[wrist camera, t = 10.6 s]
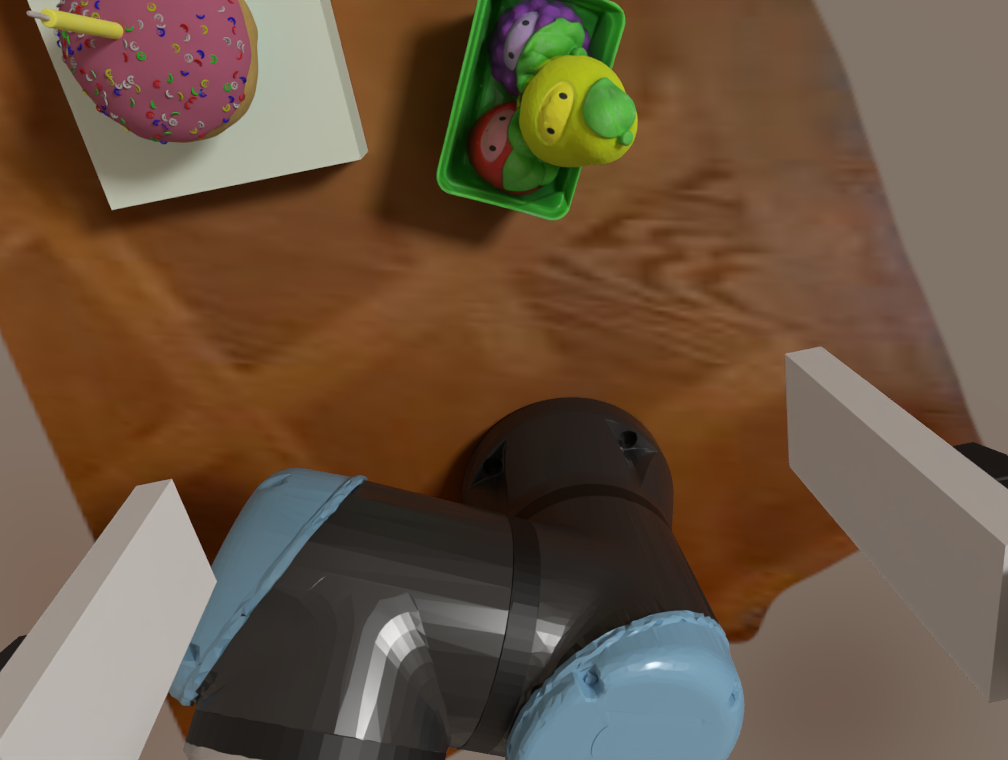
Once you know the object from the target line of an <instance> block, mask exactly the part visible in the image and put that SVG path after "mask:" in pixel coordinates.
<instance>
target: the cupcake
mask: <svg viewBox="0 0 1008 760" xmlns="http://www.w3.org/2000/svg"><path fill="white" fill-rule="evenodd" d="M56 7H57V8H59V10H53V9H48V8H46V9H43V10H42V11H41V12H40V13H38V12H33V11H27V15H28V16H30V17H33V18H37V19H40V20H41V22H42V24H43V25H44V26H46V27H48V28H53V33H54V35H56V36H58V37H59V40H58V41H57V45H58V47H60V48H61V49H62V53H63V55H62V57H61V59H62V61H63V62H64V63H65V64H66V65H67V67H68V69H69V70H70V72H71V73H72V75H73V76H74V78H75V79H76V81H77V82H78V83H79V85H80V86H81V87H82V89H83V90H82V92H83V93H84V94H85V95H87V96H89V97H90V99H91V100H92V101H93V102H94V103H95V104H96V109H97V111H98V112H100V113H103V114H104V115H106V116H108V117H109V118H111V119H112V120H113V121H115V122H117V123H119V124H120V125H122V126H123V127H124V129H125V130H126V131H127V132H130V131H131V132H132V133H134V134H136V135H137V136H139V137H141V138H144V139H148V140H152V141H154V142H157V141H158V142H160V143H161V144H167V142H175V143H188V142H195V141H200V140H205V139H209V138H212V137H215V136H217V135H219V134H221V133H222V132H224V131H225V130H226V129H228V128H229V127H230V126H232V125H233V124H235V123H236V122H237V121H238V120H240V119H241V118H242V117H243V116H244V115H245V113H246V112H247V111H248V109H249V107H250V105H251V103H252V101H253V98H254V96H255V92H256V86H257V79H258V52H257V41H258V30H257V26H256V23H255V21H254V18H253V16H252V13H251V11H250V9H249V7H248V5H247V4H246V2H245V0H60V3H58V4H57V5H56ZM56 29H57V30H58V31H57V30H56ZM55 30H56V33H57V32H58V33H57V34H56V33H55ZM64 60H65V61H64ZM99 109H100V110H99ZM127 129H128V130H127ZM163 142H165V143H163Z"/></svg>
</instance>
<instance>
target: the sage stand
mask: <svg viewBox="0 0 1008 760" xmlns="http://www.w3.org/2000/svg"><path fill="white" fill-rule="evenodd" d="M27 1H28V3H29V6H30V8H31V11H33V12H38V13H40V12H41V11H42V10H43V9H46V8H48V9H53V10H59V8H57V7H56V5H57V4H58V3H60V0H27ZM245 2H246V4H247V5H248V7H249V9H250V11H251V13H252V16H253V18H254V21H255V23H256V26H257V30H258V41H257V52H258V79H257V86H256V92H255V96H254V98H253V101H252V103H251V105H250V107H249V109H248V111H247V112H246V113H245V115H244V116H243V117H242V118H241V119H240V120H238V121H237V122H236V123H235V124H233V125H232V126H230V127H229V128H228V129H226V130H225V131H224V132H222V133H221V134H219V135H217V136H215V137H212V138H209V139H205V140H200V141H195V142H188V143H175V142H167V144H161V143H160V142H158V141H157V142H154V141H152V140H148V139H144V138H141V137H139V136H137V135H136V134H134V133H132V132H131V131H130V132H127V131H126V130H125V129H124V127H123V126H122V125H120V124H119V123H117V122H115V121H113V120H112V119H111V118H109V117H108V116H106V115H104V114H103V113H100V112H98V111H97V109H96V104H95V103H94V102H93V101H92V100H91V99H90V97H89V96H87V95H85V94H84V93H83V92H82V90H83V89H82V87H81V86H80V85H79V83H78V82H77V81H76V79H75V78H74V76H73V75H72V73H71V72H70V70H69V69H68V67H67V65H66V64H65V63H64V62H63V61H62V59H61V57H62V55H63V53H62V49H61V48H60V47H58V45H57V41H58V40H59V37H58V36H56V35H54V33H53V28H48V27H46V26H44V25H43V24H42V22H41V20H40V19H37V18H35V21H36V23H37V25H38V28H39V30H40V33H41V35H42V38H43V40H44V43H45V45H46V48H47V50H48V53H49V55H50V58H51V60H52V63H53V65H54V68H55V70H56V73H57V75H58V78H59V80H60V83H61V85H62V88H63V90H64V93H65V95H66V98H67V100H68V103H69V105H70V108H71V110H72V113H73V115H74V117H75V120H76V122H77V125H78V127H79V130H80V132H81V135H82V137H83V140H84V142H85V145H86V147H87V150H88V152H89V155H90V157H91V160H92V162H93V165H94V167H95V170H96V172H97V175H98V177H99V180H100V182H101V185H102V187H103V190H104V192H105V195H106V197H107V200H108V202H109V205H110V207H111V210H114V209H119V208H124V207H129V206H134V205H139V204H144V203H149V202H154V201H159V200H164V199H169V198H174V197H178V196H183V195H188V194H193V193H198V192H203V191H208V190H213V189H218V188H223V187H228V186H233V185H238V184H243V183H247V182H252V181H257V180H262V179H267V178H272V177H277V176H282V175H287V174H292V173H297V172H302V171H307V170H312V169H316V168H321V167H326V166H331V165H336V164H341V163H346V162H351V161H356V160H361V159H362V158H363V156H364V155H365V154H366V153H367V152H368V149H367V145H366V141H365V137H364V133H363V129H362V125H361V121H360V117H359V113H358V109H357V105H356V101H355V97H354V94H353V90H352V86H351V82H350V78H349V74H348V70H347V66H346V62H345V58H344V54H343V50H342V46H341V42H340V38H339V34H338V30H337V26H336V22H335V18H334V14H333V10H332V6H331V2H330V0H245ZM56 30H57V29H56ZM56 30H55V33H56ZM57 31H58V30H57ZM57 33H58V32H57ZM57 33H56V34H57ZM64 61H65V60H64ZM99 110H100V109H99ZM127 130H128V129H127ZM163 143H165V142H163Z"/></svg>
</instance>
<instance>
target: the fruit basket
mask: <svg viewBox="0 0 1008 760" xmlns="http://www.w3.org/2000/svg"><path fill="white" fill-rule="evenodd" d="M624 27H625V14H624V12H623V10H622V9H621V8H620V6H619V5H617V4H616V3H614V2H612V1H609V0H477V4H476V8H475V13H474V17H473V21H472V26H471V30H470V35H469V39H468V43H467V48H466V52H465V56H464V60H463V64H462V68H461V72H460V77H459V81H458V85H457V89H456V93H455V97H454V101H453V106H452V110H451V114H450V119H449V123H448V127H447V131H446V135H445V139H444V144H443V148H442V152H441V156H440V160H439V164H438V168H437V173H436V179H437V183H438V185H439V187H440V188H441V189H442V190H443V191H444V192H446V193H448V194H451V195H455V196H460V197H464V198H468V199H472V200H476V201H480V202H484V203H488V204H492V205H496V206H500V207H503V208H507V209H511V210H514V211H518V212H521V213H525V214H529V215H532V216H536V217H539V218H543V219H546V220H559V219H561V218H562V217H564V216H565V215H566V214H567V213H568V211H569V208H570V205H571V202H572V198H573V195H574V192H575V188H576V185H577V181H578V178H579V175H580V171H581V168H582V166H587V165H590V164H594V165H602V164H607V163H611V162H613V161H615V160H617V159H619V158H620V157H621V156H622V155H623V154H625V153H626V151H627V150H628V149H629V148H630V146H631V145H632V143H633V141H634V139H635V136H636V132H637V123H638V119H637V112H636V108H635V105H634V103H633V101H632V99H631V98H630V97H629V96H628V95H627V94H626V93H625V90H624V87H623V85H622V83H621V81H620V80H619V78H618V77H617V75H616V74H615V73H614V72H613V71H612V70H611V69H612V66H613V63H614V59H615V56H616V53H617V50H618V47H619V43H620V40H621V37H622V33H623V30H624Z"/></svg>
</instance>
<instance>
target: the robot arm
mask: <svg viewBox="0 0 1008 760" xmlns="http://www.w3.org/2000/svg"><path fill="white" fill-rule="evenodd" d="M785 367H786V393H787V420H788V447H789V466H790V468H791V469H792V470H793V471H794V472H795V474H796V475H797V476H798V477H799V478H800V479H801V481H802V482H803V483H804V484H805V485H806V487H807V488H808V489H809V490H810V491H811V493H812V494H813V495H814V496H815V497H816V498H817V500H818V501H819V502H820V503H821V504H822V506H823V507H824V508H825V509H826V510H827V512H828V513H829V514H830V515H831V516H832V517H833V519H834V520H835V521H836V522H837V523H838V525H839V526H840V527H841V528H842V529H843V530H844V532H845V533H846V534H847V535H848V536H849V538H850V539H851V540H852V541H853V542H854V544H855V545H856V546H857V547H858V548H859V549H860V551H861V552H862V553H863V554H864V555H865V556H866V558H867V559H868V560H869V561H870V562H871V564H872V565H873V566H874V567H875V568H876V570H877V571H878V572H879V573H880V574H881V576H882V577H883V578H884V579H885V580H886V581H887V583H888V584H889V585H890V586H891V587H892V589H893V590H894V591H895V592H896V593H897V595H898V596H899V597H900V598H901V599H902V600H903V602H904V603H905V604H906V605H907V606H908V608H909V609H910V610H911V611H912V612H913V614H914V615H915V616H916V617H917V618H918V619H919V621H920V622H921V623H922V624H923V625H924V626H925V628H926V629H927V630H928V631H929V632H930V634H931V635H932V636H933V637H934V638H935V639H936V641H937V642H938V643H939V644H940V645H941V647H942V648H943V649H944V650H945V651H946V653H947V654H948V655H949V656H950V657H951V659H952V660H953V661H954V662H955V663H956V664H957V666H958V667H959V668H960V669H961V670H962V672H963V673H964V674H965V675H966V676H967V678H968V679H969V680H970V681H971V682H972V683H973V685H974V686H975V687H976V688H977V689H978V691H979V692H980V693H981V694H982V695H983V696H984V698H985V699H986V700H987V701H988V703H990V702H995V701H1000V700H1005V699H1008V456H1007V455H1006V454H1004V453H1001V452H998V451H996V450H993V449H990V448H988V447H985V446H982V445H980V444H977V443H974V442H971V443H966V444H961V445H956V446H951V445H949V444H948V443H947V442H945V441H944V440H943V439H941V438H940V437H939V436H937V435H936V434H935V433H934V432H932V431H931V430H930V429H928V428H927V427H926V426H924V425H923V424H922V423H920V422H919V421H918V420H917V419H915V418H914V417H913V416H911V415H910V414H909V413H907V412H906V411H905V410H903V409H902V408H901V407H900V406H898V405H897V404H896V403H894V402H893V401H892V400H890V399H889V398H888V397H886V396H885V395H884V394H883V393H881V392H880V391H879V390H877V389H876V388H875V387H873V386H872V385H871V384H869V383H868V382H867V381H866V380H864V379H863V378H862V377H860V376H859V375H858V374H856V373H855V372H854V371H853V370H851V369H850V368H849V367H847V366H846V365H845V364H843V363H842V362H841V361H839V360H838V359H837V358H836V357H834V356H833V355H832V354H830V353H829V352H828V351H826V350H825V349H824V348H822V347H816V348H812V349H807V350H802V351H797V352H792V353H787V354H785ZM673 494H674V493H673V483H672V477H671V473H670V470H669V467H668V464H667V462H666V459H665V457H664V455H663V453H662V452H661V450H660V448H659V446H658V444H657V442H656V441H655V439H654V438H653V436H652V435H651V433H650V432H649V431H648V430H647V428H646V427H645V426H644V425H643V424H642V423H641V422H639V421H638V420H637V419H636V418H635V417H633V416H632V415H630V414H629V413H627V412H626V411H624V410H622V409H620V408H618V407H616V406H613V405H611V404H608V403H605V402H602V401H598V400H593V399H587V398H557V399H551V400H546V401H541V402H538V403H535V404H532V405H529V406H527V407H524V408H522V409H520V410H518V411H516V412H514V413H512V414H511V415H509V416H507V417H506V418H504V419H503V420H502V421H500V422H499V423H498V424H497V425H495V426H494V427H493V428H492V429H491V430H490V431H489V432H488V433H487V434H486V435H485V436H484V437H483V439H482V440H481V441H480V442H479V444H478V445H477V447H476V448H475V450H474V452H473V454H472V455H471V457H470V460H469V462H468V464H467V467H466V470H465V474H464V479H463V488H462V499H463V504H461V503H457V502H453V501H448V500H444V499H440V498H436V497H432V496H428V495H423V494H419V493H415V492H411V491H407V490H403V489H399V488H394V487H390V486H386V485H382V484H378V483H374V482H370V481H367V477H364V476H361V475H356V476H354V477H348V476H343V475H337V474H332V473H326V472H321V471H315V470H310V469H305V468H287V469H284V470H281V471H278V472H276V473H274V474H272V475H271V476H269V477H268V478H267V479H266V480H264V481H263V482H262V483H261V484H260V485H259V486H258V487H257V489H256V490H255V491H254V492H253V494H252V495H251V497H250V498H249V499H248V501H247V502H246V504H245V505H244V507H243V509H242V510H241V512H240V513H239V515H238V517H237V519H236V520H235V522H234V524H233V526H232V527H231V529H230V531H229V533H228V535H227V537H226V539H225V540H224V542H223V544H222V546H221V548H220V550H219V552H218V554H217V556H216V558H215V560H214V562H213V564H212V566H211V567H210V565H209V562H208V560H207V558H206V556H205V553H204V551H203V549H202V546H201V544H200V542H199V540H198V537H197V535H196V533H195V531H194V528H193V526H192V524H191V521H190V519H189V517H188V515H187V512H186V510H185V508H184V505H183V503H182V501H181V499H180V496H179V494H178V492H177V489H176V487H175V485H174V483H173V480H172V479H168V480H163V481H158V482H154V483H149V484H144V485H139V486H136V487H135V489H134V490H133V491H132V493H131V494H130V495H129V497H128V498H127V500H126V501H125V502H124V504H123V505H122V506H121V508H120V509H119V510H118V512H117V513H116V515H115V516H114V517H113V519H112V520H111V521H110V523H109V524H108V526H107V527H106V528H105V530H104V531H103V532H102V534H101V535H100V536H99V538H98V539H97V541H96V542H95V543H94V545H93V546H92V547H91V549H90V550H89V552H88V553H87V554H86V556H85V557H84V558H83V560H82V561H81V563H80V564H79V565H78V567H77V568H76V569H75V571H74V572H73V573H72V575H71V576H70V578H69V579H68V580H67V582H66V583H65V584H64V586H63V587H62V588H61V590H60V591H59V593H58V594H57V595H56V597H55V598H54V599H53V601H52V602H51V604H50V605H49V606H48V608H47V609H46V610H45V612H44V613H43V614H42V616H41V617H40V619H39V620H38V621H37V623H36V624H35V625H34V627H33V628H32V629H31V631H30V632H29V634H28V635H24V636H19V637H18V638H17V639H16V640H14V641H13V642H12V643H11V644H10V645H9V646H8V647H6V648H5V649H4V650H3V651H2V652H1V653H0V760H138V759H139V756H140V754H141V752H142V750H143V747H144V745H145V743H146V741H147V738H148V736H149V734H150V732H151V729H152V727H153V725H154V723H155V720H156V718H157V716H158V714H159V711H160V709H161V707H162V705H163V702H164V700H165V698H166V696H167V693H168V691H169V693H170V695H171V696H172V697H174V698H176V699H177V700H179V702H180V703H181V705H183V706H193V704H194V703H196V709H195V713H194V716H193V719H192V722H191V725H190V728H189V732H188V735H187V738H186V741H185V745H184V748H183V750H184V752H185V754H186V756H187V758H188V760H445V758H446V753H447V750H448V748H456V749H463V750H468V751H474V752H480V753H485V754H490V755H497V756H502V757H505V760H726V759H727V758H728V756H729V755H730V753H731V751H732V749H733V748H734V746H735V743H736V742H737V739H738V737H739V734H740V730H741V727H742V722H743V717H744V697H743V690H742V685H741V682H740V679H739V677H738V674H737V671H736V669H735V666H734V663H733V661H732V658H731V656H730V651H729V643H728V640H727V638H726V637H725V633H724V631H723V629H722V628H721V627H720V625H719V623H718V621H717V619H716V617H715V615H714V613H713V612H712V610H711V608H710V606H709V604H708V602H707V600H706V598H705V596H704V594H703V592H702V590H701V588H700V586H699V584H698V582H697V580H696V578H695V576H694V574H693V572H692V570H691V568H690V566H689V564H688V562H687V560H686V558H685V556H684V554H683V553H682V551H681V549H680V547H679V545H678V543H677V541H676V539H675V537H674V535H673V533H672V515H673Z"/></svg>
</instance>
